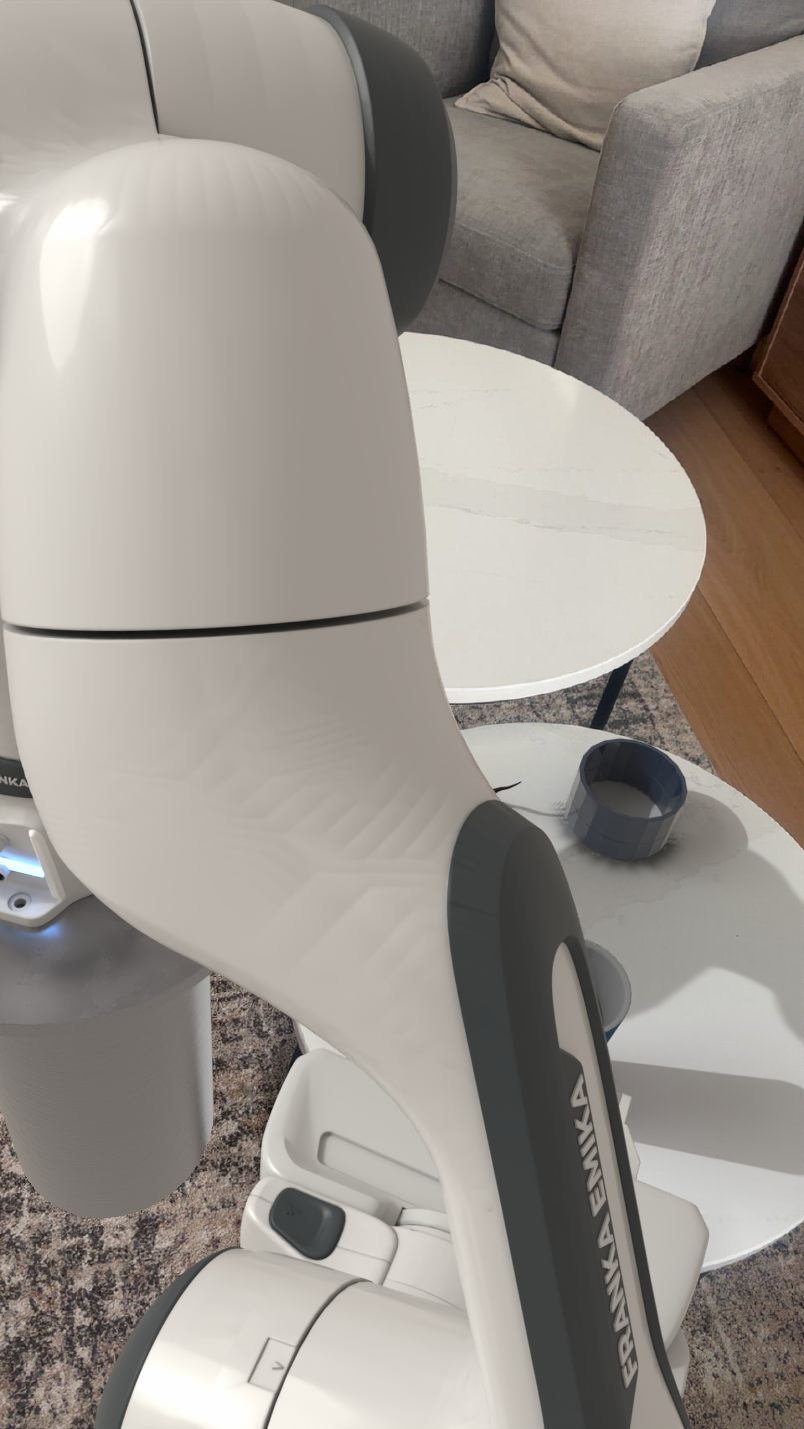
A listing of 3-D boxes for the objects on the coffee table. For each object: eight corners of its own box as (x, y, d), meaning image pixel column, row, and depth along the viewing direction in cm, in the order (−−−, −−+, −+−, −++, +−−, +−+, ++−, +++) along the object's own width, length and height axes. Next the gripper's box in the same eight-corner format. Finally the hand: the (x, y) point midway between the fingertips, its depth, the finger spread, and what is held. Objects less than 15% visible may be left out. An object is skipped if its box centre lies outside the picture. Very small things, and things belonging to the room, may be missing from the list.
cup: (553, 1159, 74) (607, 1056, 63) (464, 1107, 76) (503, 999, 65) (590, 1078, 78) (647, 969, 68) (506, 1031, 80) (548, 917, 69)
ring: (566, 863, 92) (583, 815, 87) (559, 782, 98) (576, 733, 93) (671, 874, 92) (694, 826, 87) (657, 792, 98) (679, 744, 94)
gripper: (696, 1415, 40) (748, 1107, 51) (210, 1190, 45) (347, 949, 55) (654, 1471, 44) (710, 1175, 55) (212, 1258, 49) (340, 1022, 59)
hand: (524, 1060), depth 55 cm, fingers open, 8 cm apart
